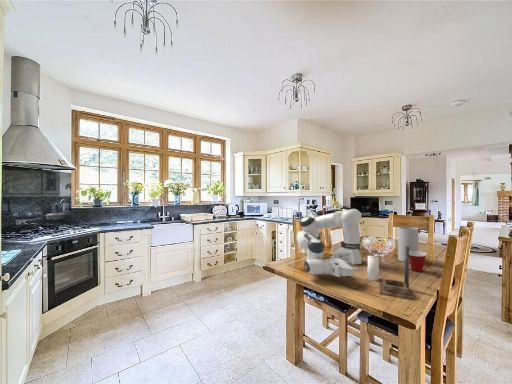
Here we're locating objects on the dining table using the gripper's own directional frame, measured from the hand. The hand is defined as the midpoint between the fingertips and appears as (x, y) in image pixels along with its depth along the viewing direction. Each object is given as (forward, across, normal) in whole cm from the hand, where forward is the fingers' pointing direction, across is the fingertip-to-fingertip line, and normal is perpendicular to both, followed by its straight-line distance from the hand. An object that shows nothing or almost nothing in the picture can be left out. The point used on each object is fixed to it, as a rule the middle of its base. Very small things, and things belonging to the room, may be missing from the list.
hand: (354, 266), depth 137 cm
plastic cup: (+47, -13, -8) cm, 50 cm away
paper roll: (+11, 0, -8) cm, 14 cm away
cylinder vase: (+56, -33, -8) cm, 65 cm away
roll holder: (+14, +17, -8) cm, 23 cm away
